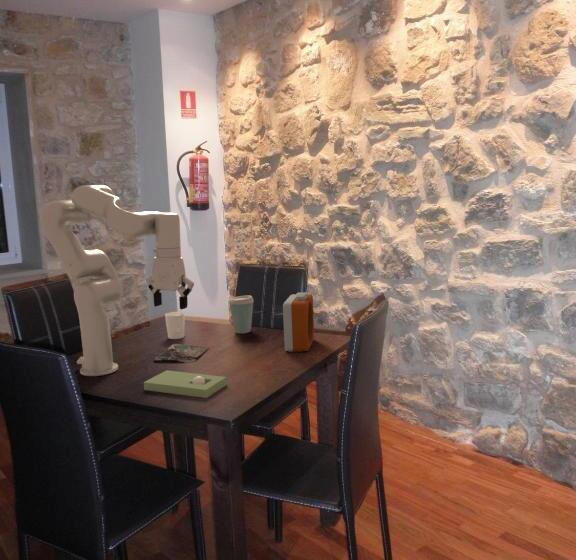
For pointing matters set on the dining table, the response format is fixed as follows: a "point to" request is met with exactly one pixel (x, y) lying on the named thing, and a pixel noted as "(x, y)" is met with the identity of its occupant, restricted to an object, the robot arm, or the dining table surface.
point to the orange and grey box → (298, 322)
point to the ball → (198, 380)
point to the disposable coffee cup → (242, 313)
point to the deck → (185, 384)
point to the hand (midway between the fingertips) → (170, 307)
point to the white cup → (175, 324)
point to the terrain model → (181, 354)
